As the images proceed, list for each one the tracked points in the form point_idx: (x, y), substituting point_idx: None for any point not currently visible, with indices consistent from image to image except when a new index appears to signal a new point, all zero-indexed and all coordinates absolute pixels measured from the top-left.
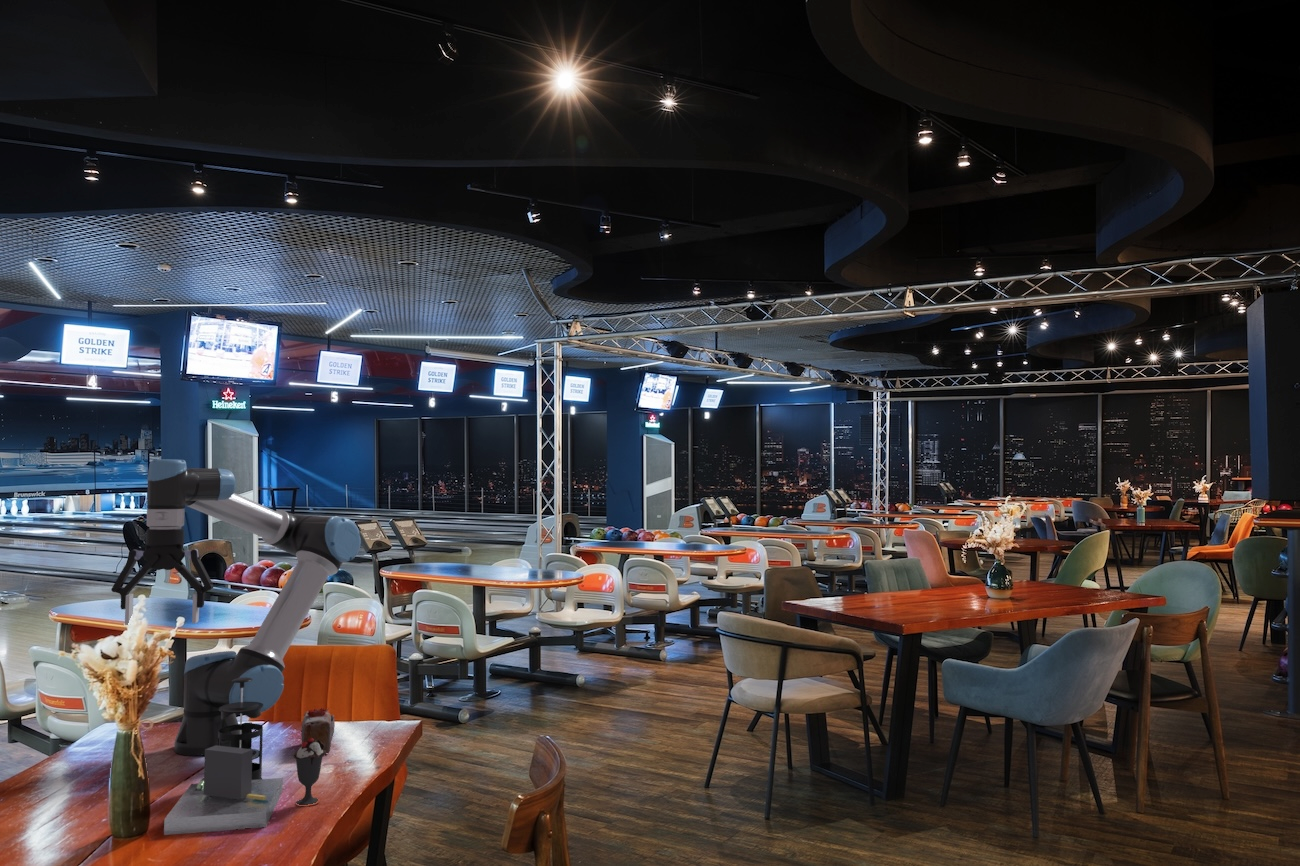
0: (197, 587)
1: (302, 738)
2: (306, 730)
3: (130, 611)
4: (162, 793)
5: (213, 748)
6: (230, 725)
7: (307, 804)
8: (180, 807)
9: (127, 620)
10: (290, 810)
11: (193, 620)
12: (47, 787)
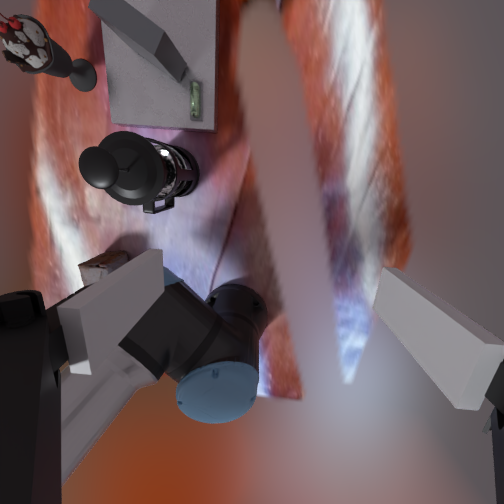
0: (8, 339)
1: (119, 262)
2: (108, 262)
3: (406, 309)
4: (251, 161)
5: (152, 33)
6: (166, 195)
7: (78, 61)
8: (206, 27)
9: (396, 274)
10: (96, 51)
11: (152, 252)
12: (373, 218)
